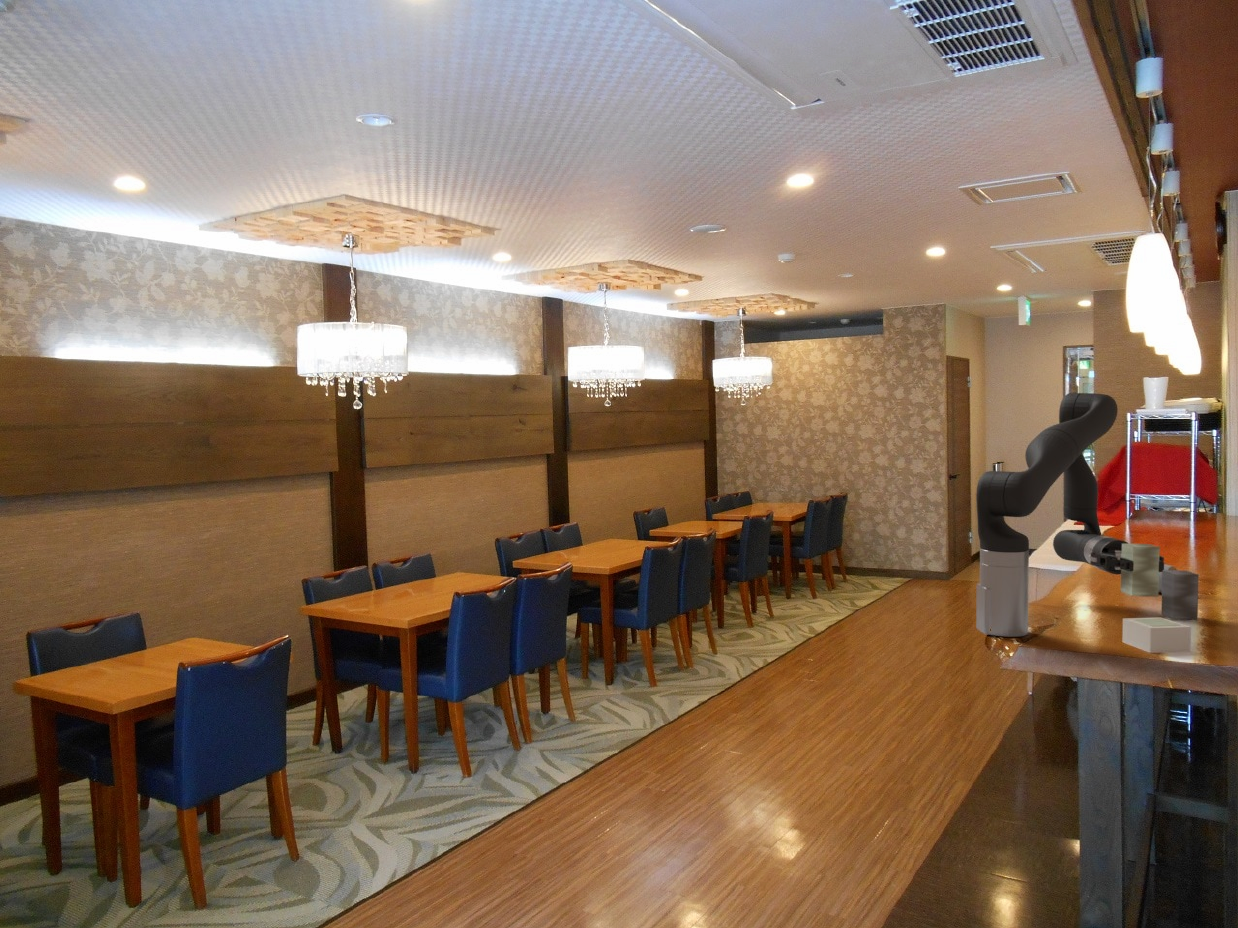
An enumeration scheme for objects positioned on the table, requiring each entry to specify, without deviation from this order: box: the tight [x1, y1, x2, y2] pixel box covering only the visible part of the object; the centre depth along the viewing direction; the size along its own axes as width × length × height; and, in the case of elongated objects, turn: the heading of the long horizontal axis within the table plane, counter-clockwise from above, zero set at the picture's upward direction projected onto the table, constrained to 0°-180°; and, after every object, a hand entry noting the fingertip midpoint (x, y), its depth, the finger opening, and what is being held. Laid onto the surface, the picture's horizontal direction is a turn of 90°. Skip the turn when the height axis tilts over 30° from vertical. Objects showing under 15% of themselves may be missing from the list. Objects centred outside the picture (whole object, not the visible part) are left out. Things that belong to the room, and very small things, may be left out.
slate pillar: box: [1160, 569, 1199, 621], centre depth 193 cm, size 5×5×10 cm
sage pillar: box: [1120, 543, 1161, 598], centre depth 179 cm, size 5×5×10 cm
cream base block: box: [1122, 617, 1192, 654], centre depth 169 cm, size 8×8×5 cm
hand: (1146, 566), depth 177 cm, fingers closed on sage pillar, 5 cm apart
